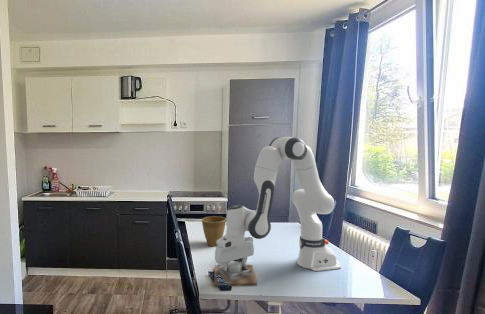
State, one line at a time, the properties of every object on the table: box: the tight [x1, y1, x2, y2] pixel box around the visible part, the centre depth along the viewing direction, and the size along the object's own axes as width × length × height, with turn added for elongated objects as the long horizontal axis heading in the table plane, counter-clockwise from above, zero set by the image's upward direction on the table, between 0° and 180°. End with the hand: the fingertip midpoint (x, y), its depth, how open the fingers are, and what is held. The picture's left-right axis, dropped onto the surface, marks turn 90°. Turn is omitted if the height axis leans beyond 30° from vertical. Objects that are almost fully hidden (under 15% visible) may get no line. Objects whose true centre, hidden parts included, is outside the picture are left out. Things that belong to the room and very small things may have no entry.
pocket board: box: [213, 263, 258, 287], centre depth 138 cm, size 19×19×4 cm
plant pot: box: [201, 215, 226, 247], centre depth 181 cm, size 15×15×16 cm
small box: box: [228, 261, 242, 274], centre depth 138 cm, size 6×6×5 cm
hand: (234, 268), depth 138 cm, fingers open, 8 cm apart
